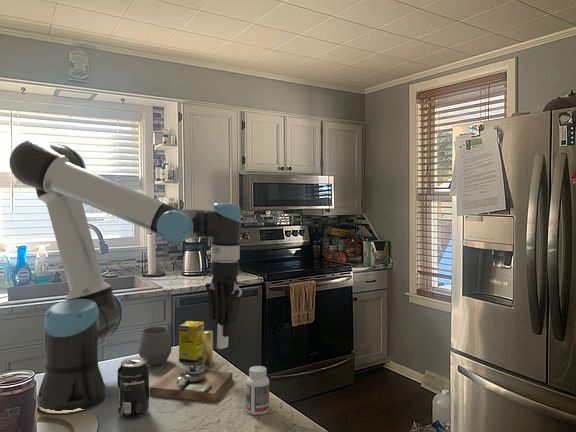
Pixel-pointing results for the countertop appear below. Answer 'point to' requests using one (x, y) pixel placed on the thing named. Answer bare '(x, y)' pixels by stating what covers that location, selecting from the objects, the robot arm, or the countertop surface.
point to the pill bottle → (257, 391)
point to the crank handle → (197, 372)
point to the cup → (155, 345)
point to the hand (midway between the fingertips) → (222, 347)
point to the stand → (192, 385)
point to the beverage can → (133, 388)
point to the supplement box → (191, 341)
